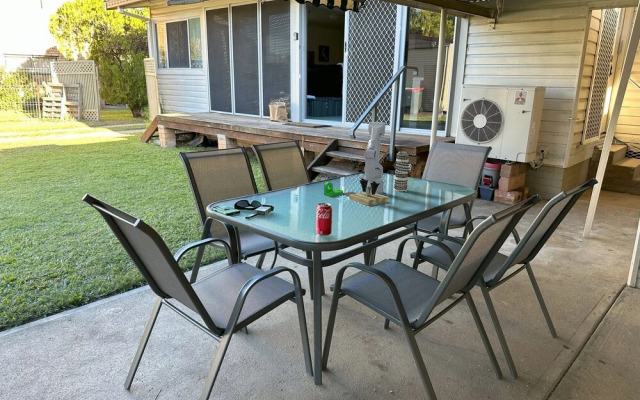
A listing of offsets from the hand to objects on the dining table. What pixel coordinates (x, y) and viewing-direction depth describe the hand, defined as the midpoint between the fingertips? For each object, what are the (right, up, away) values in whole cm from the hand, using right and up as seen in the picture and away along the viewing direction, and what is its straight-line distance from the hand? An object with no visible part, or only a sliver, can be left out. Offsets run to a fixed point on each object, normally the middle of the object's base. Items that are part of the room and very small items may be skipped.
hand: (368, 193), depth 250 cm
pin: (-1, -4, +1) cm, 4 cm away
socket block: (0, -4, +1) cm, 5 cm away
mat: (-9, -1, +15) cm, 18 cm away
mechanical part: (-19, -1, +14) cm, 24 cm away
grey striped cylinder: (+24, +2, +30) cm, 39 cm away
